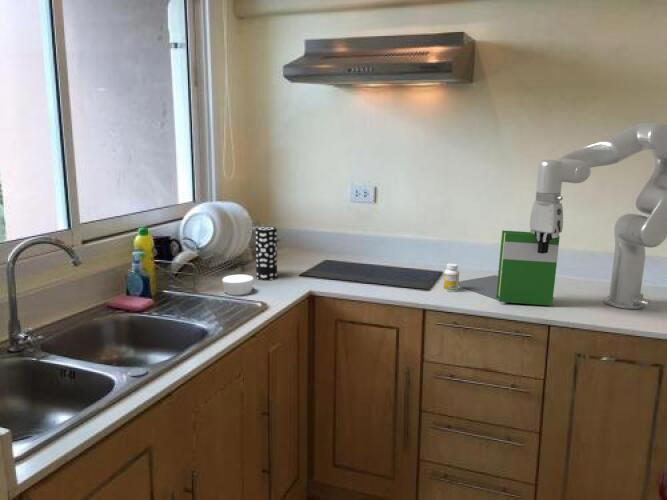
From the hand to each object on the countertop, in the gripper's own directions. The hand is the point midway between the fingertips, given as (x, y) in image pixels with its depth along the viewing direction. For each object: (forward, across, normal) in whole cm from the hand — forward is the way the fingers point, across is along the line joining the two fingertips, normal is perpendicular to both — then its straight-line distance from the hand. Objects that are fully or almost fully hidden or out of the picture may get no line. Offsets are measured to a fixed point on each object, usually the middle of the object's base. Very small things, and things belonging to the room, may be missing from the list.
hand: (542, 252), depth 190 cm
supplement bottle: (+20, +30, +12) cm, 38 cm away
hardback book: (+19, +6, 0) cm, 20 cm away
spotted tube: (+20, +79, +65) cm, 104 cm away
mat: (+19, +24, -6) cm, 31 cm away
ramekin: (+20, +66, +82) cm, 107 cm away
